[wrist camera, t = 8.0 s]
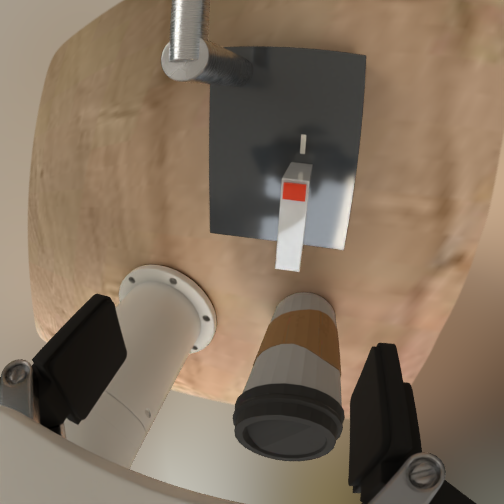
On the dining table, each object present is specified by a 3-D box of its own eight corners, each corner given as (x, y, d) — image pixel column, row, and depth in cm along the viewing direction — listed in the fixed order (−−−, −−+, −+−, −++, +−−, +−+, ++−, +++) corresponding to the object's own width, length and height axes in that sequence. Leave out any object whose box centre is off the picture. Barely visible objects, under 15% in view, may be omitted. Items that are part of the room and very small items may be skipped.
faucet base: (339, 248, 28) (340, 268, 25) (222, 233, 30) (209, 250, 27) (360, 61, 20) (366, 55, 17) (225, 53, 22) (210, 47, 19)
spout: (252, 87, 20) (204, 79, 12) (220, 87, 20) (155, 83, 12) (255, 4, 17) (211, -48, 9) (223, 5, 17) (163, -39, 9)
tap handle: (304, 239, 24) (299, 274, 20) (284, 237, 25) (274, 270, 20) (312, 164, 21) (309, 182, 17) (290, 161, 22) (281, 178, 17)
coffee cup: (250, 314, 34) (206, 431, 21) (301, 265, 29) (276, 394, 16) (307, 354, 34) (289, 470, 22) (361, 313, 30) (367, 442, 17)
